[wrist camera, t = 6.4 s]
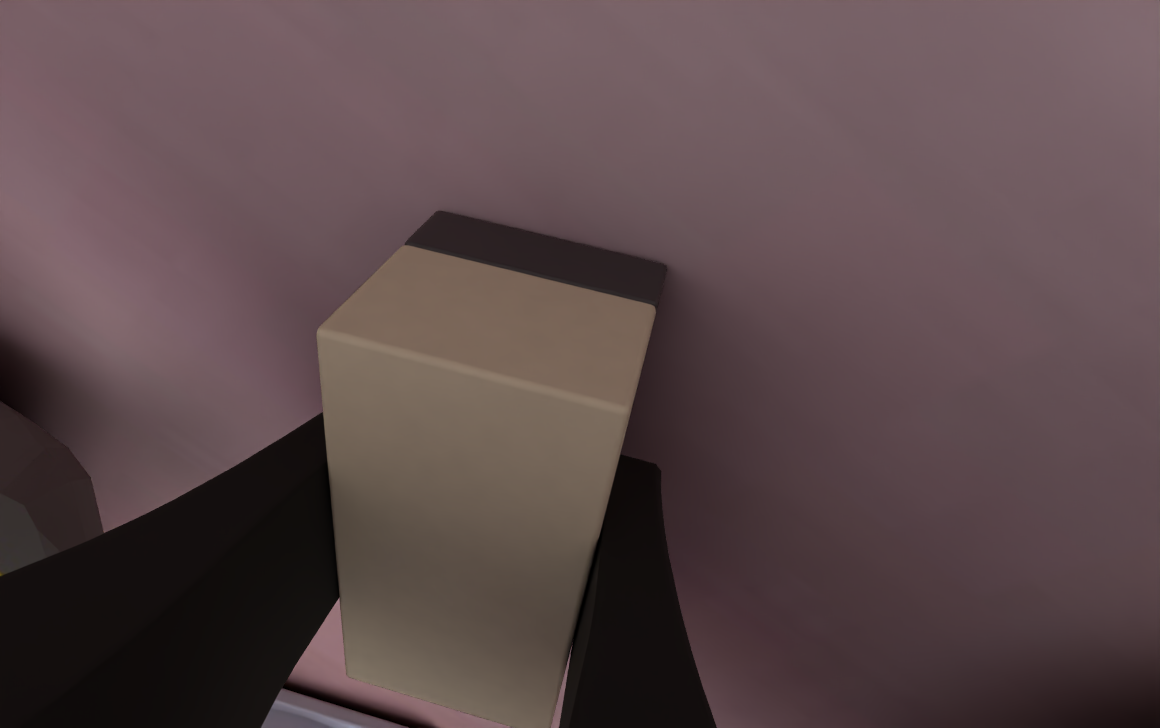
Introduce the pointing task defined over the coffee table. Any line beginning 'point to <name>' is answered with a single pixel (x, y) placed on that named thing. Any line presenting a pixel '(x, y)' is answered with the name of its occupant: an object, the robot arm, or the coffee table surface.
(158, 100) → the coffee table surface
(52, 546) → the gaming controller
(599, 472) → the eraser
